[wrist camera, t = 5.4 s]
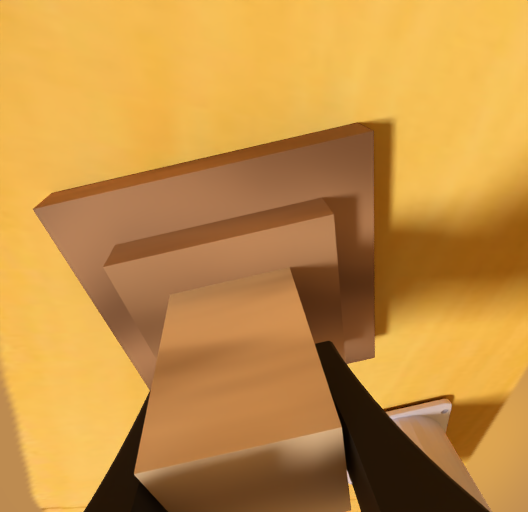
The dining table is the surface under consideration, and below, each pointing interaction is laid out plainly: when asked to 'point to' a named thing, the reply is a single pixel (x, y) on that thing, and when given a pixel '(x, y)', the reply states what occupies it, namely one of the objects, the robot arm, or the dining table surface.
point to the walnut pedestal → (229, 236)
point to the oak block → (242, 406)
